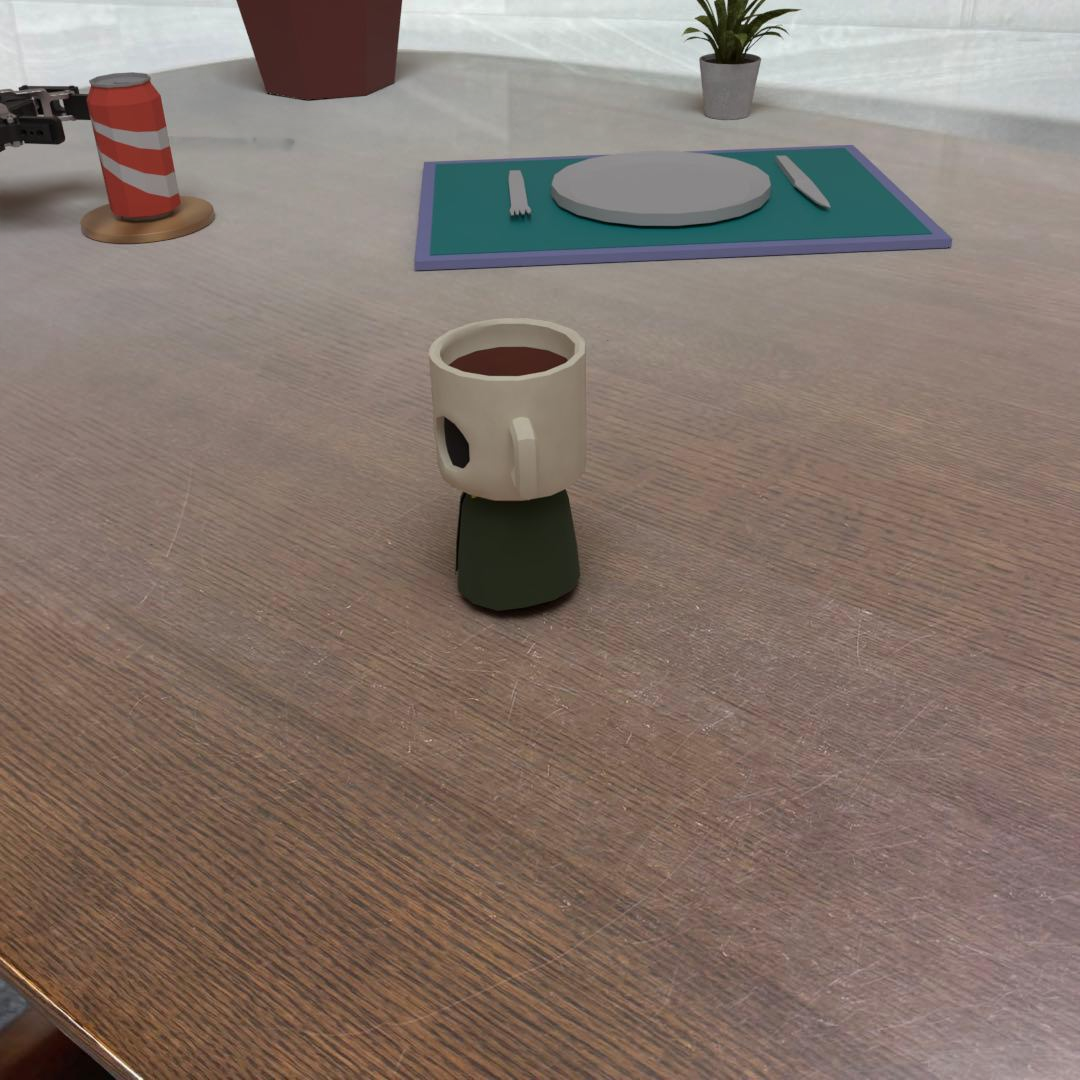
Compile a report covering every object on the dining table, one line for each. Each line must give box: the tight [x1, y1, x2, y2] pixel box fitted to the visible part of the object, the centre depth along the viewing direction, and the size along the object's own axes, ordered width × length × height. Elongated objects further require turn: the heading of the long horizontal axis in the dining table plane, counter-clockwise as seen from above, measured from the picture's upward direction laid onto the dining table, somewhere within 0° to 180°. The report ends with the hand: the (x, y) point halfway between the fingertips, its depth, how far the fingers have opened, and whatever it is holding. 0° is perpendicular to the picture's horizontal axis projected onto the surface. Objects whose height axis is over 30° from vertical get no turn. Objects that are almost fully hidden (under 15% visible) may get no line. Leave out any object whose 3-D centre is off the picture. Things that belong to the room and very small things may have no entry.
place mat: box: [413, 144, 953, 271], centre depth 112 cm, size 45×30×2 cm
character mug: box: [428, 317, 587, 612], centre depth 57 cm, size 11×7×13 cm, turn 9°
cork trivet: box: [79, 194, 216, 244], centre depth 112 cm, size 12×12×1 cm
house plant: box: [681, 0, 803, 121], centre depth 136 cm, size 14×14×16 cm
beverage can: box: [87, 71, 181, 222], centre depth 109 cm, size 6×6×12 cm
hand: (86, 119), depth 108 cm, fingers open, 8 cm apart
